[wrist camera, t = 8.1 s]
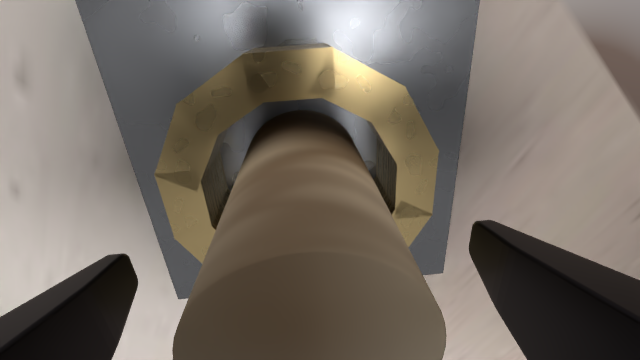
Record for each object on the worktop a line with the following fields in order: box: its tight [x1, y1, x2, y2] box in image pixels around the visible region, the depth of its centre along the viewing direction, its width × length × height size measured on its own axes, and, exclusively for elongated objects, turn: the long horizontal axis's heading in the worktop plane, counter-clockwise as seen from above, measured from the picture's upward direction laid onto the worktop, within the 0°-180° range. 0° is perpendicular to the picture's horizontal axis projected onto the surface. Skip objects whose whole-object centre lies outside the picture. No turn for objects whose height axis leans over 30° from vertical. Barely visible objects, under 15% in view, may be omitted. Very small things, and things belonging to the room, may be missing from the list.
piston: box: [173, 110, 446, 360], centre depth 10 cm, size 5×5×9 cm
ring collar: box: [75, 0, 480, 299], centre depth 13 cm, size 14×14×4 cm
